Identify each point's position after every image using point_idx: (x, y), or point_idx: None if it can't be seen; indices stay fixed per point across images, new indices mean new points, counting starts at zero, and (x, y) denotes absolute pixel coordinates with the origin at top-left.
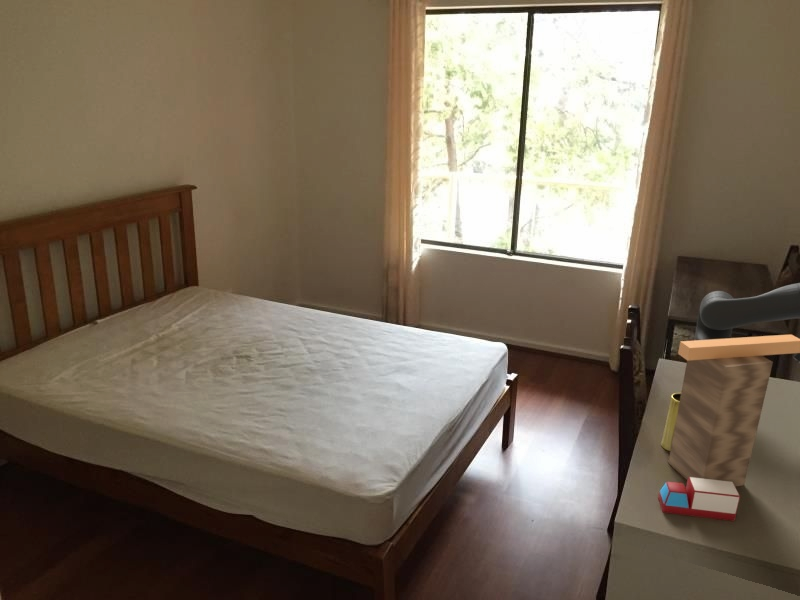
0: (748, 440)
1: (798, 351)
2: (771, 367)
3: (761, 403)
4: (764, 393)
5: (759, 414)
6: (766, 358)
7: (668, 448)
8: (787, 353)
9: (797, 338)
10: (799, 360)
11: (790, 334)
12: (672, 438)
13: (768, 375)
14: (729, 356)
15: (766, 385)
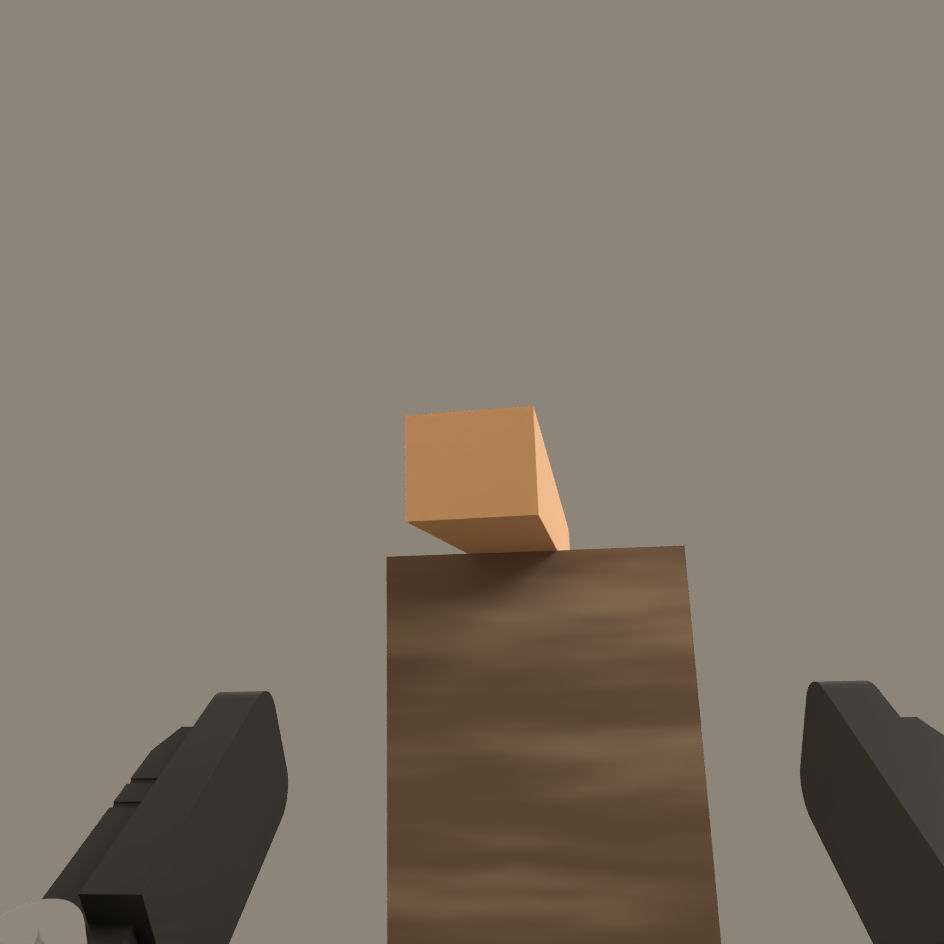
0: None
1: (410, 510)
2: (387, 590)
3: (389, 821)
4: (388, 754)
5: (388, 903)
6: (431, 555)
7: None
8: (431, 533)
9: (452, 415)
10: (862, 900)
11: (532, 407)
12: None
13: (389, 638)
14: None
15: (387, 701)
